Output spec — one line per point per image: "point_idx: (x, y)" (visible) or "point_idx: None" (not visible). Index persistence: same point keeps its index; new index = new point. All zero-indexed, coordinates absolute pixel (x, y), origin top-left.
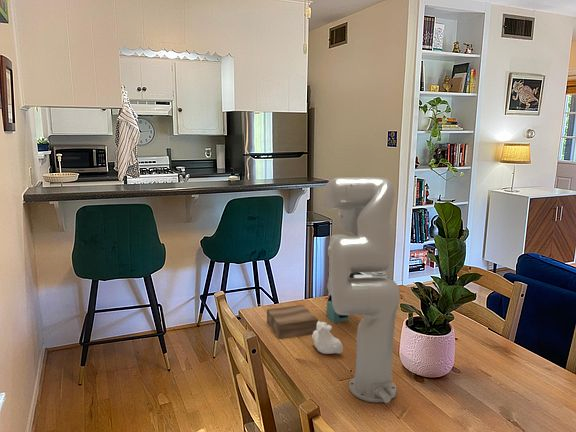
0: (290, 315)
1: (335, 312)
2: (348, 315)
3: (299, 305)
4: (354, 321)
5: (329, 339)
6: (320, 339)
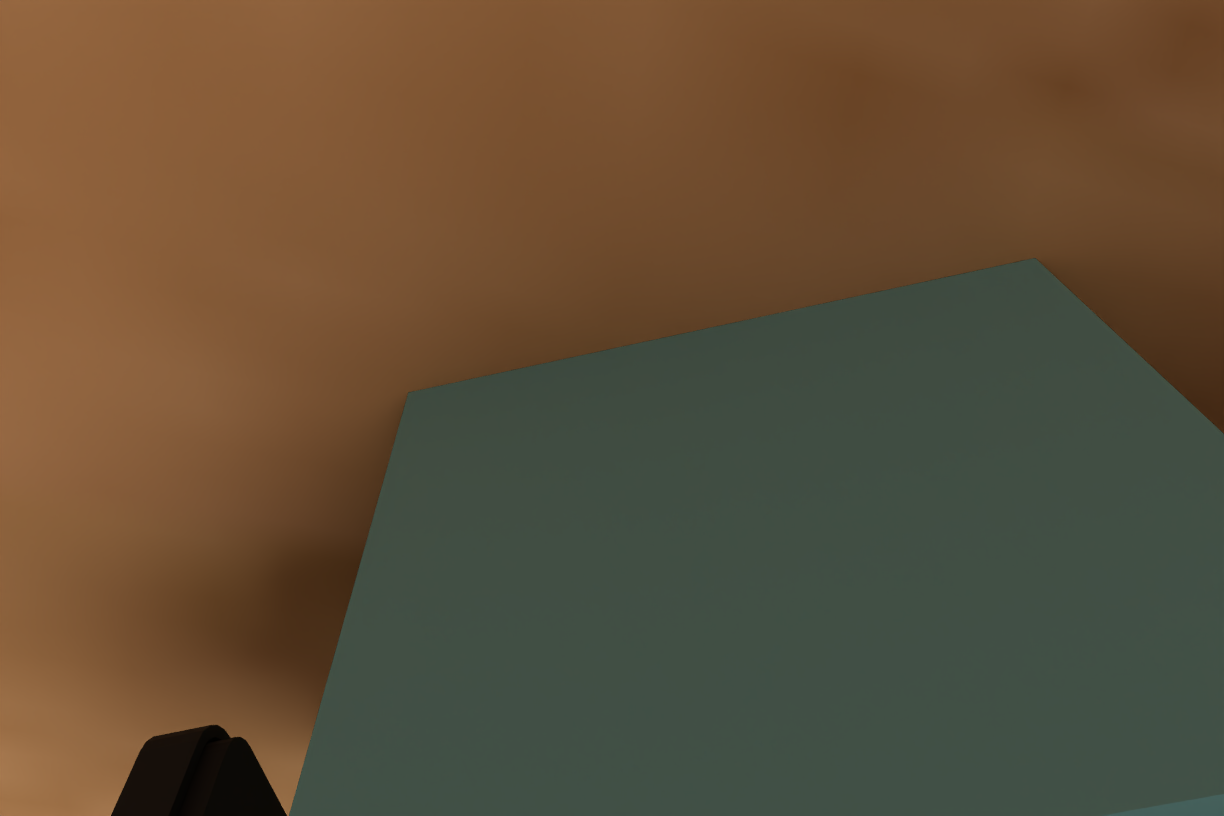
0: None
1: None
2: (1136, 352)
3: None
4: (1215, 27)
5: None
6: None
